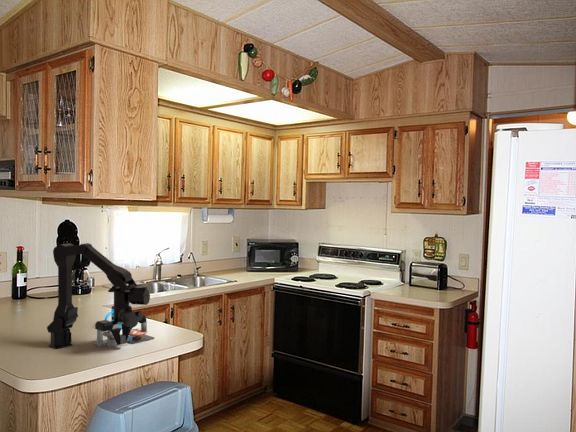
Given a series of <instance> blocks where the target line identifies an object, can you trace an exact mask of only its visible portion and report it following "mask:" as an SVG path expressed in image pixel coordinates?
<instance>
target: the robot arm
mask: <svg viewBox="0 0 576 432" xmlns="http://www.w3.org/2000/svg"><path fill="white" fill-rule="evenodd" d="M52 254H53V261H54V262H55V264H56V266H57V280H58V281H57V292H58V293H57V307H56V308H55V310H54V313H53V319H52V321H51V322H50V323H49V325H47V326H46V330H47V332H48V334H50V343H49V344H48V347H51V348H53V349H56V350H58V349H62V348H65V347H70V346H73V343H72V332H71V328H73V326H74V324H75V323H76V322H77V318H79V315H78V310H79V308H78V307H77V306H74V304H73V265H74V264H75V261H76V257H77V256H78V255H82V256H83V257H85V258H86V259H87V260H89V262H90V263H92V264H93V265H94V266H96V268H98V269H99V270H101V271H102V272H103V273H104V274H105V276H106V278H107V280H108V281H109V282H110V283H111V285H112V286H111V287H110V288H109V289H108V290H107V292H108V293H113V306H112V305H111V309H114V317H112V320H114V321H111V320H108V319H107V320H105V319H102V320H97V321H96V322H95V324H94V327H95V328H94V329H95V330H96V331H97V330H100V331H106V332H107V331H108V330H110V331H111V333H112V334H113V336H114V339H115V341H116V346H117V345H118V346H120V335H121V334H124V335H126V341H127V339H128V336H129V333H130V331H131V329H134V328H135V327H137V326H138V324H141V323H145V322H146V321H147V316H146V314H144V313H143V311H142V310H138V311H133V308H132V305H143V306H144V305H145V306H147V305H148V304H149V302H150V299H151V294H150V290H149V289H148V286H138V284H137V283H136V281H135V280H134V278H133V276H132V274H133V273H132V272H131V271H129V270H128V269H126V268H124V267H122V266H119V265H117V264H115V263H113V262H112V261H111V260H109V259H108V258H107V257H106V256H105V255H103V254H102V252H100V251H98V250H97V248H95V247H94V246H93V245H92V243H89V242H87V243H86V242H85V243H81V244H76V245H75V244H73V243H64V244H58V245H56V246H55V247H54V248H53V250H52ZM130 304H131V305H130ZM117 322H119V323H117ZM121 324H122V328H119V325H121ZM125 344H127V342H126V343H125Z"/></svg>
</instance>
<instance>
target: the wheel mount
mask: <svg viewBox="0 0 576 432" xmlns="http://www.w3.org/2000/svg"><path fill="white" fill-rule="evenodd" d="M151 340H152V341H153V340H155V337H154V336H151V335H148V334H144V335H140V336H128V339H127V341H126V343H128V344H132V345H135V344H139V343H143V342H144V343H145V342H147V341H151Z"/></svg>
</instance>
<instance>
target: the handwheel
mask: <svg viewBox="0 0 576 432" xmlns="http://www.w3.org/2000/svg"><path fill="white" fill-rule="evenodd" d="M147 323H148V322H147V320H146V322H145V323H140V328H132V329H131V331H130V333H129V336H140V335H144V334H145V335H147V333H148V330H147V329H148V328H147V327H148V326H147V325H148V324H147Z"/></svg>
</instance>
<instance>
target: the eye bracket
mask: <svg viewBox="0 0 576 432" xmlns="http://www.w3.org/2000/svg"><path fill="white" fill-rule="evenodd" d="M103 332H105V331H100V330H97V329H96V341H94V342H93V344H94V345H95V346H98V347H102V346H106V345H107V347H108V346H109V348H111V347H115V346H117V343H116V341H115V340H114V339H111V338H108V337H106V339H104V336H103ZM106 332H109V333H111V331H110V330H108V331H106Z"/></svg>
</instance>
